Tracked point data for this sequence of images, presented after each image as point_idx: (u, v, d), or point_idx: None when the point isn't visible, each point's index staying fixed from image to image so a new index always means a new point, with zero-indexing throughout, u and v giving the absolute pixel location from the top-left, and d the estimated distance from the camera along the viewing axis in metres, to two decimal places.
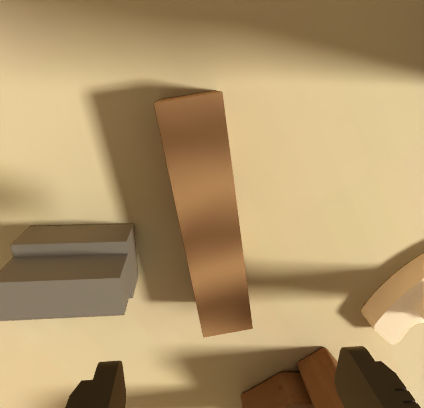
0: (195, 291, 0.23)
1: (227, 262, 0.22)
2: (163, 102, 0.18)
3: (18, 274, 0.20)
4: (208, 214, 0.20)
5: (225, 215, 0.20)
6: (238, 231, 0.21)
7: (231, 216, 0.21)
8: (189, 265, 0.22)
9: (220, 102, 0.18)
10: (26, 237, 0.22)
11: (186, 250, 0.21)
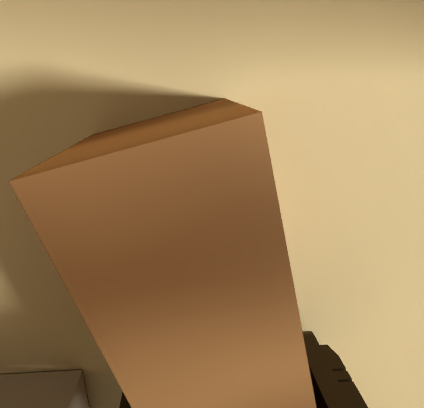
0: None
1: None
2: (45, 174, 0.05)
3: None
4: None
5: None
6: None
7: None
8: None
9: (257, 150, 0.05)
10: None
11: None
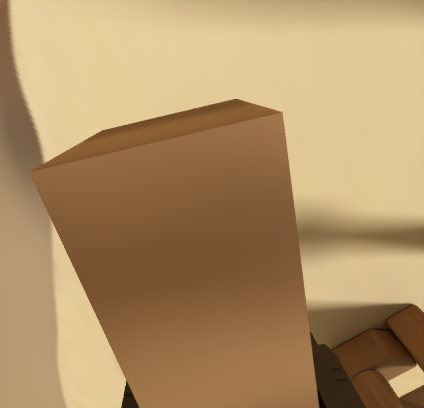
0: None
1: None
2: (65, 167, 0.05)
3: None
4: None
5: None
6: None
7: None
8: None
9: (275, 150, 0.05)
10: None
11: None
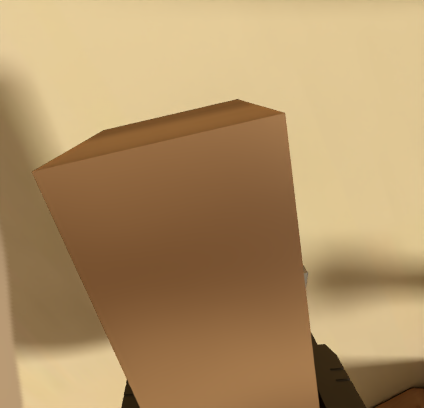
0: None
1: None
2: (68, 166, 0.05)
3: None
4: None
5: None
6: None
7: None
8: None
9: (277, 150, 0.05)
10: None
11: None
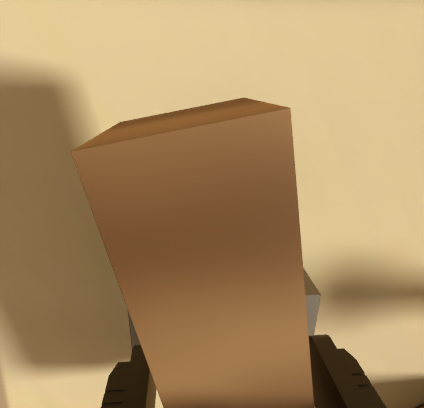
0: None
1: None
2: (102, 148, 0.05)
3: None
4: (242, 405, 0.08)
5: (282, 404, 0.08)
6: None
7: (297, 405, 0.08)
8: None
9: (283, 140, 0.06)
10: None
11: None
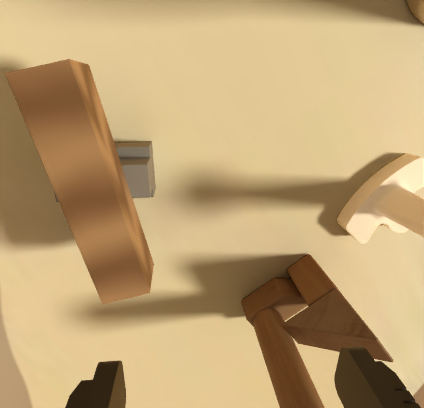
0: (84, 258, 0.24)
1: (110, 227, 0.23)
2: (14, 72, 0.19)
3: None
4: (81, 180, 0.21)
5: (97, 180, 0.22)
6: (114, 195, 0.22)
7: (104, 181, 0.22)
8: (73, 232, 0.23)
9: (69, 69, 0.19)
10: None
11: (67, 217, 0.22)
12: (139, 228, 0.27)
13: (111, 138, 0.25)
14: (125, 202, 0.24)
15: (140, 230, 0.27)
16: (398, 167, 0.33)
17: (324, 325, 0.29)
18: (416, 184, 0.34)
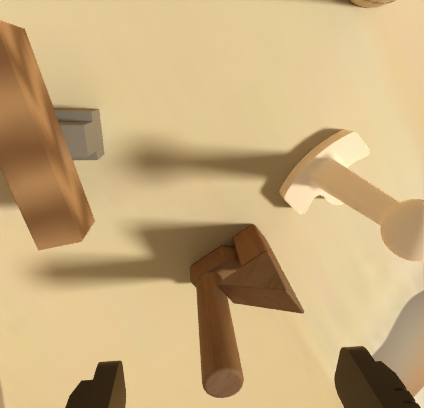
0: (19, 205, 0.26)
1: (40, 177, 0.25)
2: None
3: None
4: (11, 131, 0.24)
5: (26, 132, 0.24)
6: (42, 147, 0.25)
7: (32, 133, 0.24)
8: (7, 180, 0.25)
9: None
10: None
11: (0, 165, 0.25)
12: (77, 185, 0.29)
13: (48, 98, 0.27)
14: (58, 157, 0.27)
15: (78, 187, 0.30)
16: (332, 141, 0.35)
17: (249, 282, 0.31)
18: (350, 158, 0.36)
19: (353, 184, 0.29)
